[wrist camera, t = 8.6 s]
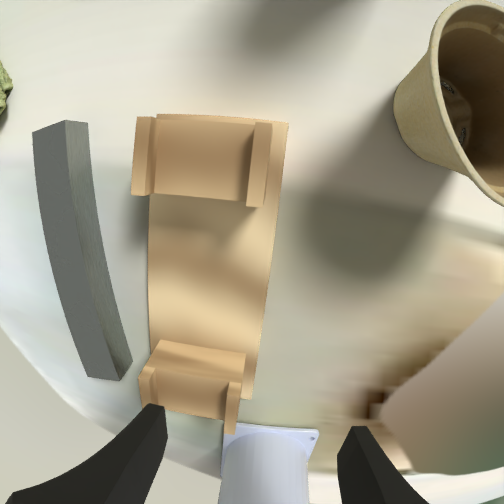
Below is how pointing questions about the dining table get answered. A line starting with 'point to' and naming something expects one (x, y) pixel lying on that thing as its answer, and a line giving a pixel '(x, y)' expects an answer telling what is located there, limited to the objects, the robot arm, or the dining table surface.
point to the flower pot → (459, 96)
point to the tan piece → (207, 255)
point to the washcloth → (4, 87)
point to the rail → (78, 248)
